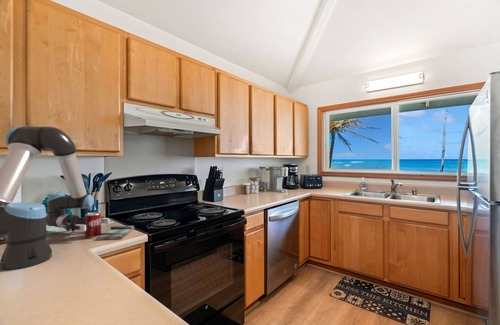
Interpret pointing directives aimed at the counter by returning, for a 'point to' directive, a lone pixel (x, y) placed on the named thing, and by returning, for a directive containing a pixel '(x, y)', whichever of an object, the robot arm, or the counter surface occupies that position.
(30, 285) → the counter surface
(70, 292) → the counter surface
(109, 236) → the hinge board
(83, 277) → the counter surface
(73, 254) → the counter surface
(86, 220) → the soda can
